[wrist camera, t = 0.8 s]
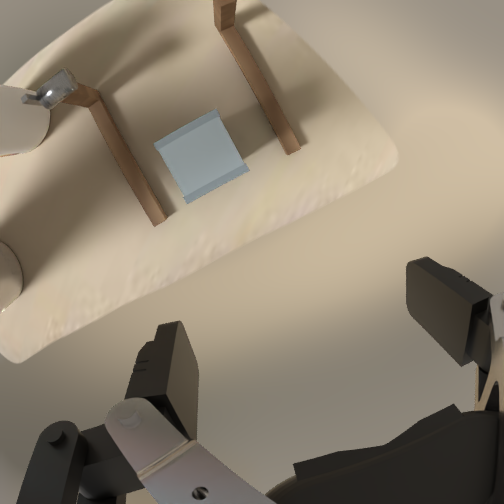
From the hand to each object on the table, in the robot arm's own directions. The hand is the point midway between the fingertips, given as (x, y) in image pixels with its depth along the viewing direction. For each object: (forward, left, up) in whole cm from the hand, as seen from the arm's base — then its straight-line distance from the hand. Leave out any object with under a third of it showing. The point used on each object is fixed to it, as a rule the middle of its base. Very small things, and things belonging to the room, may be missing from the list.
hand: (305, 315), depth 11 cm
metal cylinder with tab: (-10, +18, -18) cm, 27 cm away
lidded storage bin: (-2, +6, -26) cm, 26 cm away
